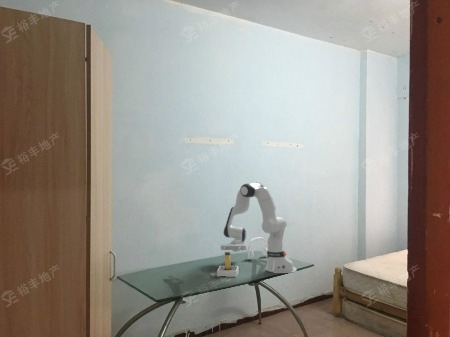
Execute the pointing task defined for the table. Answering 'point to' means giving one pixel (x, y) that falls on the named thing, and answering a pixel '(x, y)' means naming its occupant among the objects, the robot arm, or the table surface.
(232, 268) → the walled box
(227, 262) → the cylinder
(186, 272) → the table surface
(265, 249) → the headset
